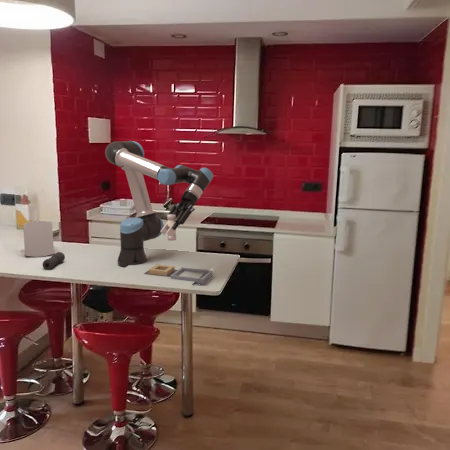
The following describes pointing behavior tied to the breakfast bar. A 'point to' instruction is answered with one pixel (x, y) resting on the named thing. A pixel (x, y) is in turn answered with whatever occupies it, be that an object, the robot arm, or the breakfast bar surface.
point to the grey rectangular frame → (201, 280)
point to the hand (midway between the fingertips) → (165, 233)
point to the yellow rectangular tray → (161, 270)
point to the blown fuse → (171, 219)
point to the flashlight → (53, 260)
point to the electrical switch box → (38, 238)
